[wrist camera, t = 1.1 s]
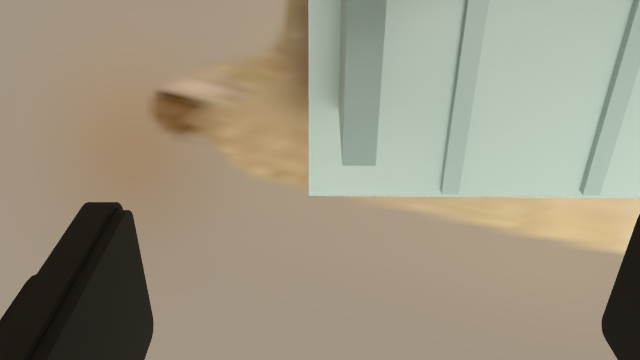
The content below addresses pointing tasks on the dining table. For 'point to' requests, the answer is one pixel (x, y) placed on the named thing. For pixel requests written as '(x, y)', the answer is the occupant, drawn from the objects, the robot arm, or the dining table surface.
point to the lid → (474, 98)
